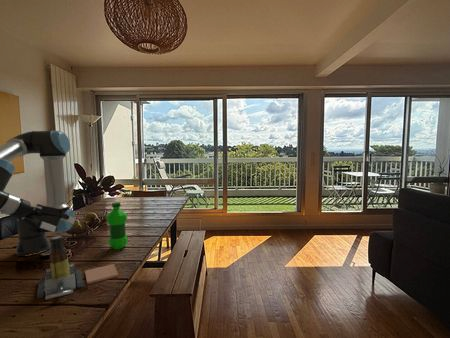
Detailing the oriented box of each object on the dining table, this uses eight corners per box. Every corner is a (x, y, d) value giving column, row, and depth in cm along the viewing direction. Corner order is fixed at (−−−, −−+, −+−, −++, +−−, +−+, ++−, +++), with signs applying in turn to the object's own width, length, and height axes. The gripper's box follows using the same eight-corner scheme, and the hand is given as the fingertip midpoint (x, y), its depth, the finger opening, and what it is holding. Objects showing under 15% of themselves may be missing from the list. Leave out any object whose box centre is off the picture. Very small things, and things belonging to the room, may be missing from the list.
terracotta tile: (85, 272, 117) (84, 270, 117) (113, 265, 124) (113, 263, 123) (87, 284, 107) (87, 282, 107) (118, 276, 113) (118, 274, 113)
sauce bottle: (73, 280, 111) (70, 234, 109) (65, 288, 105) (61, 239, 103) (57, 281, 111) (54, 234, 109) (48, 289, 104) (44, 240, 103)
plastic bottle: (132, 246, 148) (130, 202, 146) (116, 252, 139) (113, 206, 137) (120, 243, 153) (118, 200, 151) (104, 249, 144) (101, 204, 142)
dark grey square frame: (40, 282, 110) (39, 270, 109) (81, 272, 117) (80, 261, 117) (35, 308, 92) (34, 294, 91) (84, 295, 99) (83, 282, 99)
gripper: (-7, 223, 107) (44, 240, 122) (29, 205, 98) (80, 225, 113) (1, 207, 112) (50, 225, 127) (36, 188, 103) (84, 210, 117)
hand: (64, 225), depth 120 cm, fingers open, 13 cm apart
